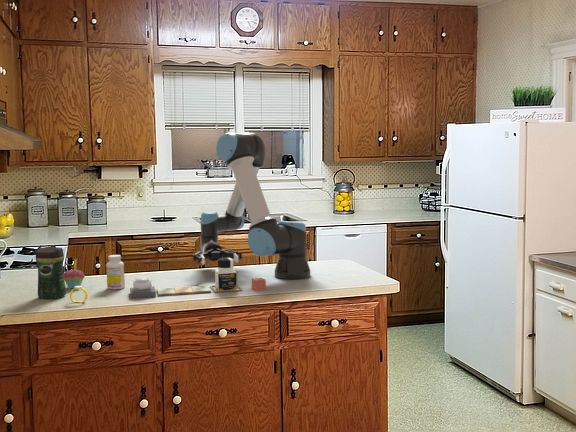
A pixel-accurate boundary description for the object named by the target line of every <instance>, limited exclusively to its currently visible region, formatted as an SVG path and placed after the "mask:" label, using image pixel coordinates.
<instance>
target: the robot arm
mask: <svg viewBox="0 0 576 432" xmlns="http://www.w3.org/2000/svg"><path fill="white" fill-rule="evenodd" d="M215 150H216V156H217V159H219V160H220V161H222V162H225V164H226V166H227V169H228V170H231V171H232V172H233V176H234V178H235V184H234V188H233V190H232V194H231V196H230V200H229V202H228V205H227V208H226V211H225V213H224V214H219V213H218V212H216V211H204V212H201V214H200V242H199V248H200V250H198V251H197V252H195V253H194V254H192V261H193V262H197V263H198V264H200V263H201V264H202V265H205V264H206V260H208V261H211V262H216V261H217V262H218V259H220V258H232V259H233V262H235V263H236V264H238V263H239V260H242V259H243V253H242V252H239V251H238V250H237V251H236V250H232V249H231V248H230V249H227V251H226V250H225V249H223V248H222V246H221V245H220V244H219V233H221V232H228V231H229V232H230V231H237V230H241V229H243V227H244V226H245V217H244V215H243V214H244V211H245V209H246V213H247V215H248V218H249V221H250V225H249V227H248V230H249V231H248V234H247V245H248V248H249V249H250V251H251V252H252V253H253V254H254V255H256V256H258V257H271V256H274V255H278V259H277V262H276V265H275V268H274V277H275V278H278V279H283V280H301V279H307V278H310V277H311V269H310V265H309V262H308V259H307V226H306V224H305V223H304V222H302V221H301V222H300V221H292V220H291V221H287V220H279V221H278V220H277V218H275V217H273V216H272V215H271V213H270V209H269V207H268V205H267V201H266V198H265V196H264V192H263V190H262V187H261V185H260V182H259V179H258V173H259V170H260V168H262V167H263V166H264V164H265V159H266V156H267V149H266V143H265V141H264V139H263V138H262V137H261V136H260V135H258V133H254V132H234V131H233V132H226V133H223V134H221V135H220V136H219V138H218V139H217V143H216V148H215Z"/></svg>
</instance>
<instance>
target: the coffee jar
mask: <svg viewBox="0 0 576 432" xmlns="http://www.w3.org/2000/svg"><path fill="white" fill-rule="evenodd" d="M64 260H65V254H64V250H63V248H62V247H58V246H57V247H55V246H53V247H52V246H50V247H49V246H47V247H46V246H45V247H40V248H37V249H36V251H35V262H36V265H37V297H38V298H39V299H44V300H47V299H49V300H52V299H58V298H63V296H64V297H65V296H66V295H67V286H66V282H65V280H64Z"/></svg>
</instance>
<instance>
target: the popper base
mask: <svg viewBox="0 0 576 432" xmlns="http://www.w3.org/2000/svg"><path fill="white" fill-rule="evenodd" d="M129 294H130V295H129V296H130V299H132V300H133V299H143V298H144V299H145V298H156V297H157V290H156V288H155V286H152V288H150V289H145V290H136V289H134V288H133V287H129Z"/></svg>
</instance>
